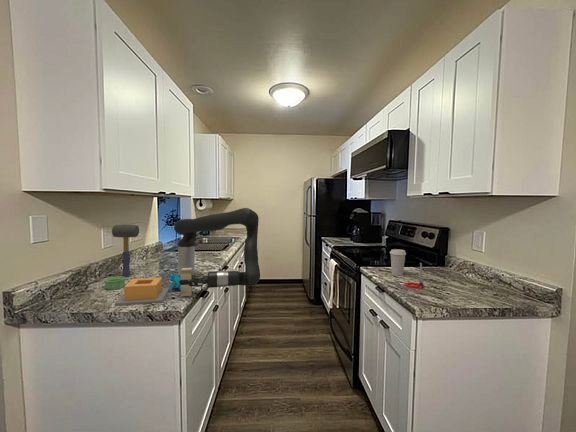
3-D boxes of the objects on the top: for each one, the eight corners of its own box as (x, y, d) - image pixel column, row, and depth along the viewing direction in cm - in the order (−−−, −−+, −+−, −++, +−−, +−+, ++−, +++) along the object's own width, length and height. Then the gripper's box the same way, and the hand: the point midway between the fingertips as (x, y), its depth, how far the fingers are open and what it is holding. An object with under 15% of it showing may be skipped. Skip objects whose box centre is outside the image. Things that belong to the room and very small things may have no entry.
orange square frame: (128, 292, 132) (128, 277, 131) (169, 289, 136) (169, 275, 136) (114, 305, 114) (114, 289, 114) (161, 302, 119) (161, 286, 118)
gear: (179, 289, 131) (168, 273, 134) (171, 298, 132) (159, 281, 134) (193, 286, 142) (182, 271, 144) (185, 293, 142) (174, 278, 145)
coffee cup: (386, 274, 172) (387, 250, 172) (392, 271, 180) (393, 248, 179) (402, 277, 166) (403, 252, 165) (407, 274, 173) (408, 250, 173)
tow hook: (402, 287, 147) (421, 289, 142) (402, 262, 147) (420, 264, 142) (406, 283, 154) (424, 286, 149) (405, 260, 154) (424, 262, 148)
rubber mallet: (111, 278, 155) (110, 224, 153) (117, 274, 162) (117, 223, 161) (135, 277, 156) (134, 225, 155) (140, 274, 164) (139, 224, 162)
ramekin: (116, 290, 134) (115, 281, 134) (99, 289, 135) (99, 280, 135) (129, 285, 143) (129, 276, 143) (114, 284, 144) (114, 275, 144)
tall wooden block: (182, 293, 131) (181, 268, 131) (192, 292, 132) (192, 267, 132) (180, 296, 127) (180, 270, 126) (191, 295, 128) (191, 270, 127)
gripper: (218, 267, 139) (182, 269, 135) (218, 275, 126) (177, 277, 121) (218, 282, 140) (182, 284, 136) (218, 291, 126) (178, 293, 122)
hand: (180, 281), depth 128 cm, fingers closed on tall wooden block, 4 cm apart
